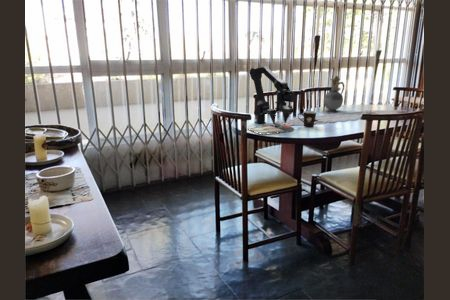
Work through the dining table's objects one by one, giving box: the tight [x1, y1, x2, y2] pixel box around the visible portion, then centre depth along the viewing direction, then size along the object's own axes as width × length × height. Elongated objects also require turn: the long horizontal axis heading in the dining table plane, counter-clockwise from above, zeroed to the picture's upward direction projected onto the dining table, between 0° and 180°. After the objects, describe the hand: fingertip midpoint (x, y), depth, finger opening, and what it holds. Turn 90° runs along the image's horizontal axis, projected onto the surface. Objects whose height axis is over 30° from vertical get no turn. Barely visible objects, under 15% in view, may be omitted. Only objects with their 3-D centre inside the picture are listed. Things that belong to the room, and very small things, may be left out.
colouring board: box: [247, 125, 285, 134], centre depth 211 cm, size 16×18×1 cm
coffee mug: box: [297, 110, 317, 128], centre depth 224 cm, size 12×9×10 cm
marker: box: [273, 122, 284, 128], centre depth 221 cm, size 9×2×2 cm, turn 27°
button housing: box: [279, 127, 295, 132], centre depth 213 cm, size 6×6×2 cm
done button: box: [283, 124, 291, 129], centre depth 212 cm, size 5×5×2 cm
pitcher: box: [323, 75, 345, 113], centre depth 276 cm, size 11×19×30 cm, turn 119°
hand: (279, 123), depth 221 cm, fingers open, 9 cm apart
